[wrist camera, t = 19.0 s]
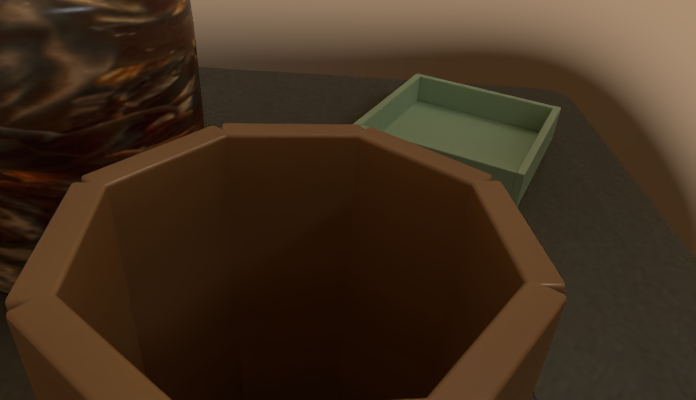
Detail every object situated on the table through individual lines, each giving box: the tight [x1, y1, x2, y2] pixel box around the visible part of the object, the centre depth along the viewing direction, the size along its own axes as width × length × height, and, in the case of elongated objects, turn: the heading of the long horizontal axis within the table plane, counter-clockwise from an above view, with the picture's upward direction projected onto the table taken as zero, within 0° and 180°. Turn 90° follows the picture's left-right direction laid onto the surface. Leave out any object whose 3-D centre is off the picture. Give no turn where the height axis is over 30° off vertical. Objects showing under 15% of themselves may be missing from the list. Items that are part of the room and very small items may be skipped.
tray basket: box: [354, 74, 561, 207], centre depth 39 cm, size 11×11×3 cm
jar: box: [0, 0, 204, 294], centre depth 26 cm, size 12×12×15 cm
